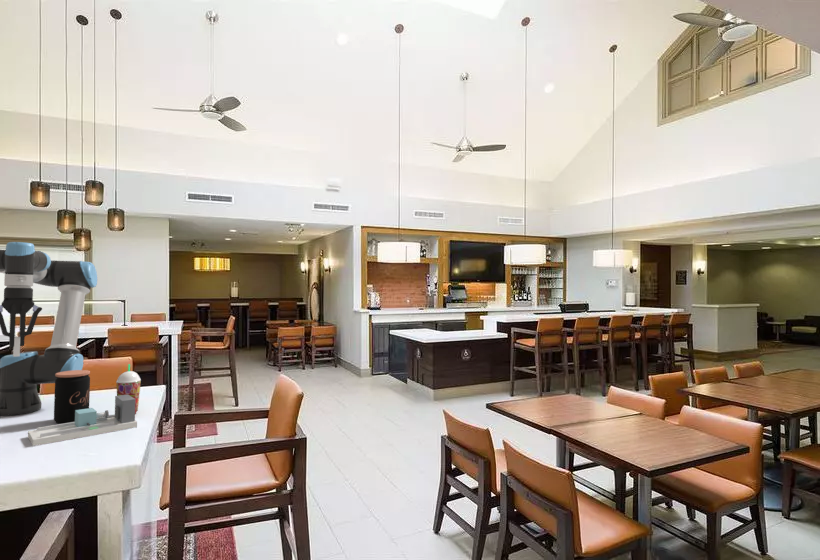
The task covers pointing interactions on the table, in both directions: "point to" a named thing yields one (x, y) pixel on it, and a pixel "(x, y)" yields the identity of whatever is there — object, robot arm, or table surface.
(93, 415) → the gauge slider
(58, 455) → the table surface
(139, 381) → the smoothie
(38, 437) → the board
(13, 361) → the robot arm
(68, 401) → the coffee jar
